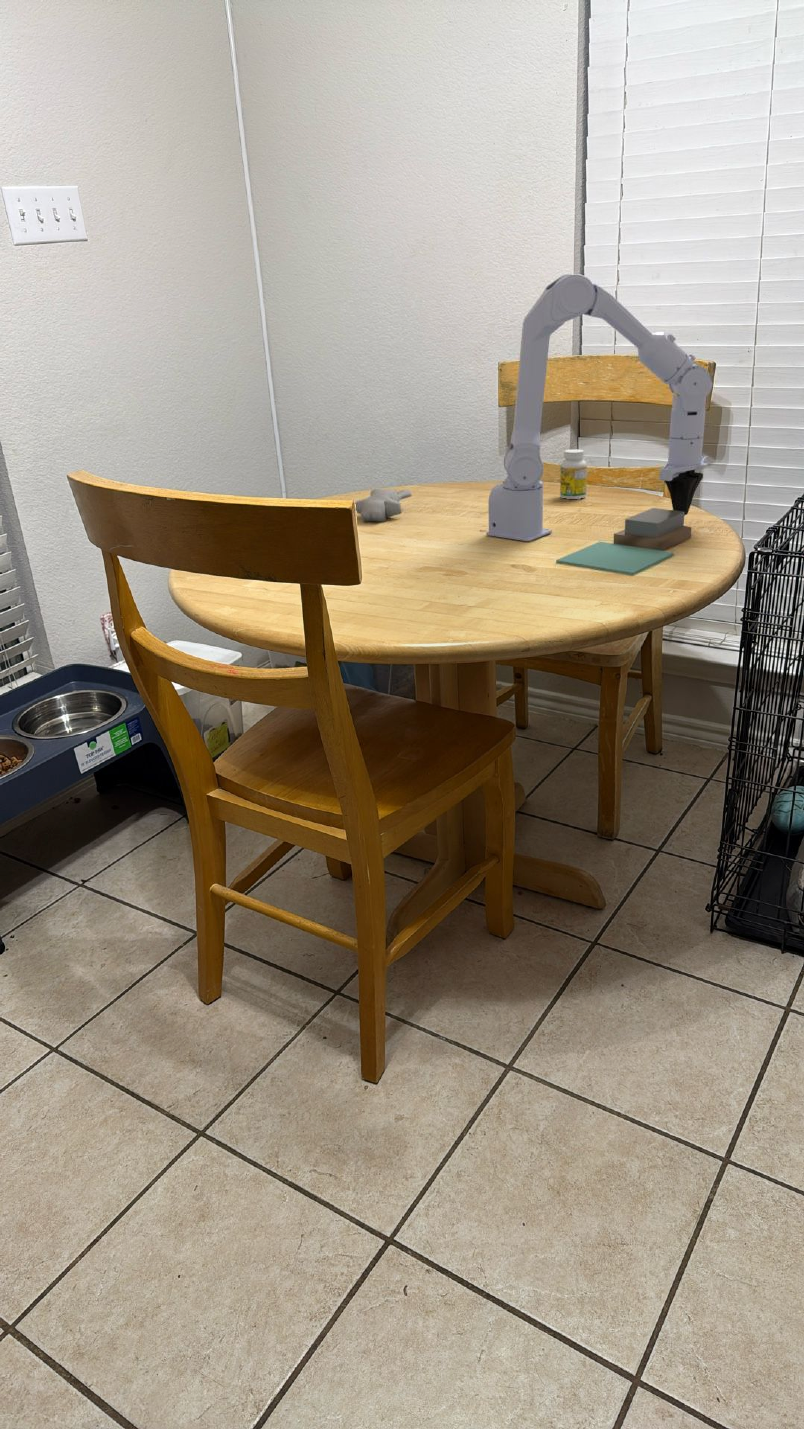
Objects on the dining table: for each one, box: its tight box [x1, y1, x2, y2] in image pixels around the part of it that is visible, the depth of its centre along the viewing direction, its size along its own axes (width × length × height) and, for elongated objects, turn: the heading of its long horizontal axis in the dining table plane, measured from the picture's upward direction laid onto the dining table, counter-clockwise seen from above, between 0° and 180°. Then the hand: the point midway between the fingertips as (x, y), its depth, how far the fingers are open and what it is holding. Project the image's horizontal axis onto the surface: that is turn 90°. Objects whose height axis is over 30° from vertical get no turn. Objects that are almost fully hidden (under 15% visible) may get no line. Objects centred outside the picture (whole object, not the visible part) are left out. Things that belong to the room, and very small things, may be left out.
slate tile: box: [624, 507, 685, 538], centre depth 168 cm, size 6×10×2 cm, turn 139°
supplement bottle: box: [559, 448, 588, 500], centre depth 202 cm, size 5×5×10 cm
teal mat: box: [555, 541, 675, 576], centre depth 160 cm, size 14×14×1 cm
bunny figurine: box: [354, 488, 413, 523], centre depth 196 cm, size 10×5×15 cm
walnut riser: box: [612, 525, 692, 551], centre depth 168 cm, size 9×11×2 cm
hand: (680, 514), depth 175 cm, fingers closed
